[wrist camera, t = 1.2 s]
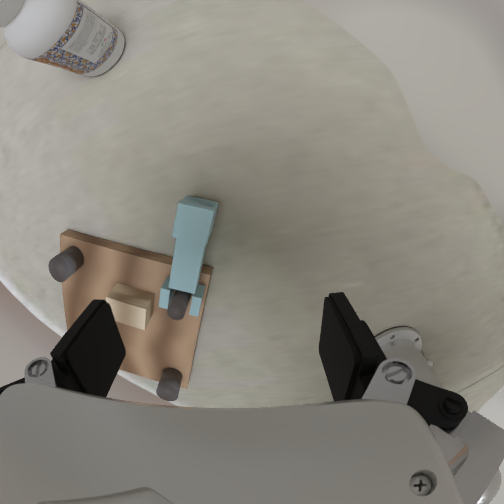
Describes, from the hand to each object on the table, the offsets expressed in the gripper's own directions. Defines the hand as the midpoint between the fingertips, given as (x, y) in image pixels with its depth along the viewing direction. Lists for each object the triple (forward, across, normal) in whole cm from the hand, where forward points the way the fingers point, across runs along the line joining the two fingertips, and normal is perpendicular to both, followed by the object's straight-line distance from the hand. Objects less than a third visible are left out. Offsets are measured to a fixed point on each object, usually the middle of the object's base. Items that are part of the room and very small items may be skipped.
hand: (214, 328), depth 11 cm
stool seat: (+20, +15, +13) cm, 28 cm away
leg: (+18, +5, +3) cm, 19 cm away
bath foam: (+20, +15, -22) cm, 33 cm away
